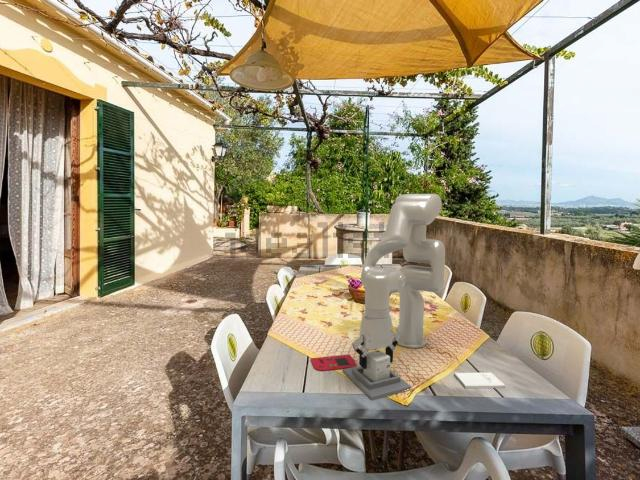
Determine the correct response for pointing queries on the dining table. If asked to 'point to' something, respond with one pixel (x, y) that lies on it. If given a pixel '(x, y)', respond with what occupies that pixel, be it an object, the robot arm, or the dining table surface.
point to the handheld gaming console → (333, 363)
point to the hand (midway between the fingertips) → (376, 364)
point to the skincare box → (377, 366)
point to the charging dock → (376, 383)
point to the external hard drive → (478, 380)
